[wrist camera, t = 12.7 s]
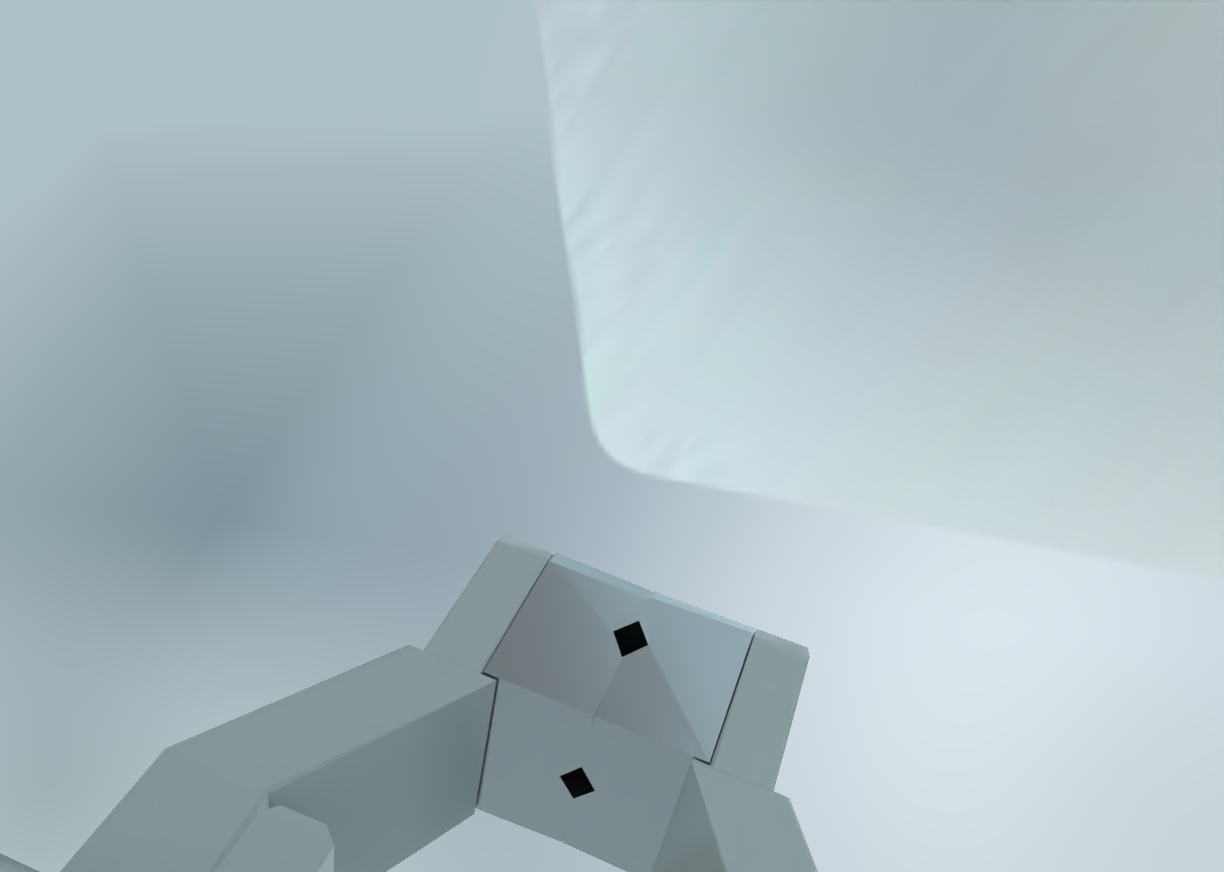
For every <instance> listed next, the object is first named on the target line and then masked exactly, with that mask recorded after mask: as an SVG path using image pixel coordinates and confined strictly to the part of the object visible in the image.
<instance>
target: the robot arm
mask: <svg viewBox="0 0 1224 872" xmlns="http://www.w3.org/2000/svg"><path fill="white" fill-rule="evenodd" d="M753 633H754V634H753ZM808 660H809V652H808V648H807V647H804V646H801V645H799V644H796V643H794V642H791V641H788V640H785V639H782V638H780V637H777V636H774V635H772V634H769V633H766V632H764V631H761V630H758V629H756V631H755V632H754V628H752V627H750V626H747V625H744V624H741V623H739V622H736V621H733V620H731V619H728V618H725V617H722V616H720V615H717V614H714V613H711V612H709V611H706V610H703V609H700V608H698V607H695V606H692V605H689V604H687V603H684V602H682V601H679V600H676V599H673V598H671V597H668V596H665V595H662V594H660V593H657V592H652V591H650V590H647V589H644V588H642V587H640V586H637V585H635V584H632V583H630V582H627V581H625V580H622V579H620V578H617V577H615V576H613V575H610V574H607V573H605V572H603V571H600V570H598V569H595V568H592V567H590V566H588V565H585V564H583V563H581V562H578V561H576V560H573V559H571V558H568V557H566V556H563V555H561V554H558V553H556V554H555V553H553V552H550V551H548V550H545V549H543V548H541V547H538V546H536V545H533V544H531V543H528V542H526V541H524V540H521V539H519V538H516V537H514V536H511V535H509V534H507V535H505V536H504V537H503V538H502V539H500V540H499V541H498V542H496V543H495V545H494V546H493V548H492V549H491V551H490V552H489V554H488V555H487V556H486V558H485V559H484V561H483V562H482V564H481V565H480V567H479V568H478V570H477V571H476V573H475V574H474V576H473V577H472V579H471V580H470V582H469V583H468V585H467V586H466V588H465V589H464V591H463V592H462V594H461V595H460V597H459V598H458V600H457V601H456V603H455V604H454V606H453V607H452V609H451V610H450V612H449V613H448V615H447V616H446V618H445V619H444V621H443V622H442V624H441V625H440V627H439V628H438V630H437V631H436V633H435V634H434V636H433V637H432V639H431V640H430V641H429V643H428V644H427V646H426V648H425V649H424V650H421V649H418V648H416V647H413V646H410V645H408V646H405V647H403V648H401V649H398V650H396V651H394V652H391V653H389V654H387V655H384V656H382V657H380V658H377V659H375V660H372V661H370V662H368V663H365V664H363V665H361V666H358V667H356V668H354V669H351V670H349V671H347V672H344V673H342V674H340V675H337V676H335V677H332V678H330V679H328V680H325V681H323V682H321V683H319V684H316V685H314V686H312V687H309V688H307V689H304V690H302V691H300V692H297V693H295V694H293V695H290V696H288V697H285V698H283V699H281V700H278V701H276V702H274V703H271V704H269V705H267V706H264V707H262V708H260V709H257V710H255V711H253V712H250V713H248V714H246V715H243V716H241V717H239V718H236V719H234V720H231V721H229V722H227V723H224V724H222V725H220V726H217V727H215V728H213V729H210V730H208V731H206V732H203V733H201V734H199V735H196V736H194V737H192V738H189V739H187V740H185V741H182V742H180V743H177V744H175V745H173V746H170V747H168V748H166V749H165V750H164V751H163V752H162V753H161V754H160V756H159V757H158V758H157V759H156V760H155V761H154V763H153V764H152V765H151V766H150V767H149V768H148V770H147V771H146V772H145V773H144V774H143V775H142V777H141V778H140V779H139V780H138V781H137V783H136V784H135V785H134V786H133V787H132V788H131V789H130V791H129V792H128V793H127V794H126V795H125V797H124V798H123V799H122V800H121V801H120V802H119V804H118V805H117V806H116V807H115V808H114V809H113V811H112V812H111V813H110V814H109V815H108V816H107V818H106V819H105V820H104V821H103V822H102V823H101V825H100V826H99V827H98V828H97V829H96V830H95V832H94V833H93V834H92V835H91V836H90V837H89V839H88V840H87V841H86V842H85V843H84V844H83V846H82V847H81V848H80V849H79V850H78V852H77V853H76V854H75V855H74V856H73V857H72V859H71V860H70V861H69V862H68V863H67V864H66V865H65V867H64V868H63V869H62V870H61V871H60V872H386V871H388V870H389V869H391V868H392V867H394V866H395V865H397V864H398V863H400V862H401V861H403V860H405V859H406V858H408V857H409V856H411V855H412V854H414V853H415V852H417V851H418V850H420V849H421V848H423V847H424V846H426V845H427V844H429V843H430V842H432V841H433V840H435V839H437V838H438V837H440V836H441V835H443V834H444V833H445V832H447V831H449V830H450V829H452V828H453V827H455V826H456V825H458V824H459V823H461V822H462V821H464V820H465V819H467V818H468V817H470V816H472V815H473V814H474V812H475V808H477V809H479V810H482V811H485V812H487V813H490V814H493V815H495V816H497V817H500V818H502V819H505V820H508V821H510V822H513V823H515V824H518V825H520V826H523V827H525V828H528V829H530V830H533V831H536V832H538V833H541V834H543V835H546V836H548V837H551V838H553V839H556V840H559V841H561V842H562V841H563V843H566V844H568V845H570V846H572V847H574V848H576V849H579V850H581V851H583V852H586V853H587V854H590V855H592V856H594V857H596V858H599V859H601V860H603V861H605V862H607V863H609V864H612V865H614V866H616V867H618V868H620V869H623V870H625V871H627V872H817V869H816V866H815V864H814V861H813V858H812V856H811V853H810V851H809V848H808V845H807V843H806V840H805V838H804V835H803V832H802V830H801V827H800V824H799V822H798V820H797V817H796V814H795V811H794V809H793V806H792V803H791V801H790V799H789V798H788V797H786V796H783V795H781V794H779V793H776V792H774V791H773V790H774V786H775V783H776V779H777V776H778V772H779V768H780V764H781V761H782V757H783V753H784V750H785V746H786V742H787V739H788V735H789V731H790V727H791V723H792V720H793V716H794V712H795V709H796V705H797V701H798V698H799V694H800V690H801V686H802V683H803V679H804V675H805V672H806V668H807V664H808ZM0 872H39V871H37V870H34V869H32V868H30V867H28V866H26V865H24V864H22V863H20V862H17V861H15V860H13V859H11V858H9V857H7V856H5V855H2V854H0Z"/></svg>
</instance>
